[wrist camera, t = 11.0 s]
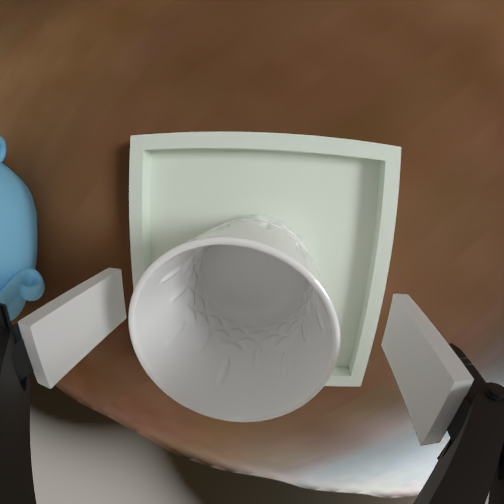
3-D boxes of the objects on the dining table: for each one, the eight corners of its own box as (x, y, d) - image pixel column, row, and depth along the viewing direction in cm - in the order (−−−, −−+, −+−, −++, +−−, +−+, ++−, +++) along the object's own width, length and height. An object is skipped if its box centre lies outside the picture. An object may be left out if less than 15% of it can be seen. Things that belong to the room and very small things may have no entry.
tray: (391, 149, 18) (401, 147, 16) (356, 372, 22) (360, 386, 20) (142, 138, 19) (130, 135, 18) (151, 351, 24) (142, 363, 22)
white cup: (245, 338, 21) (215, 441, 12) (176, 251, 20) (93, 312, 11) (339, 279, 19) (377, 369, 10) (270, 180, 18) (250, 186, 9)
